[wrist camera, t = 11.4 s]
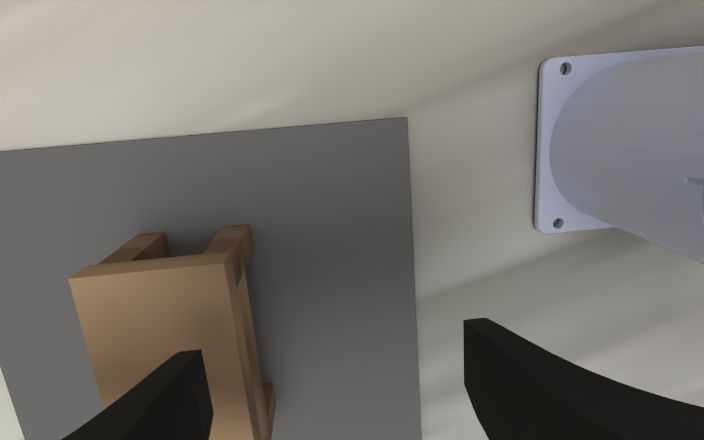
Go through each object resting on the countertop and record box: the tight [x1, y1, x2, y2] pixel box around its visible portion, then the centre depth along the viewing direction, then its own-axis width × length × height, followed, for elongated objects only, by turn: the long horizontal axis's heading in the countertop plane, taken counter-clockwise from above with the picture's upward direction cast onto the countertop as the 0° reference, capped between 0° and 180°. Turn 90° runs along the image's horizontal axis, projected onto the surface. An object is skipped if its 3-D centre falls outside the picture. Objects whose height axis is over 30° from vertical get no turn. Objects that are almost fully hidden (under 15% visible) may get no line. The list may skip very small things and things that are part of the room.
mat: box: [0, 117, 422, 440], centre depth 21 cm, size 20×18×1 cm
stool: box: [68, 224, 276, 440], centre depth 18 cm, size 10×5×6 cm, turn 5°
